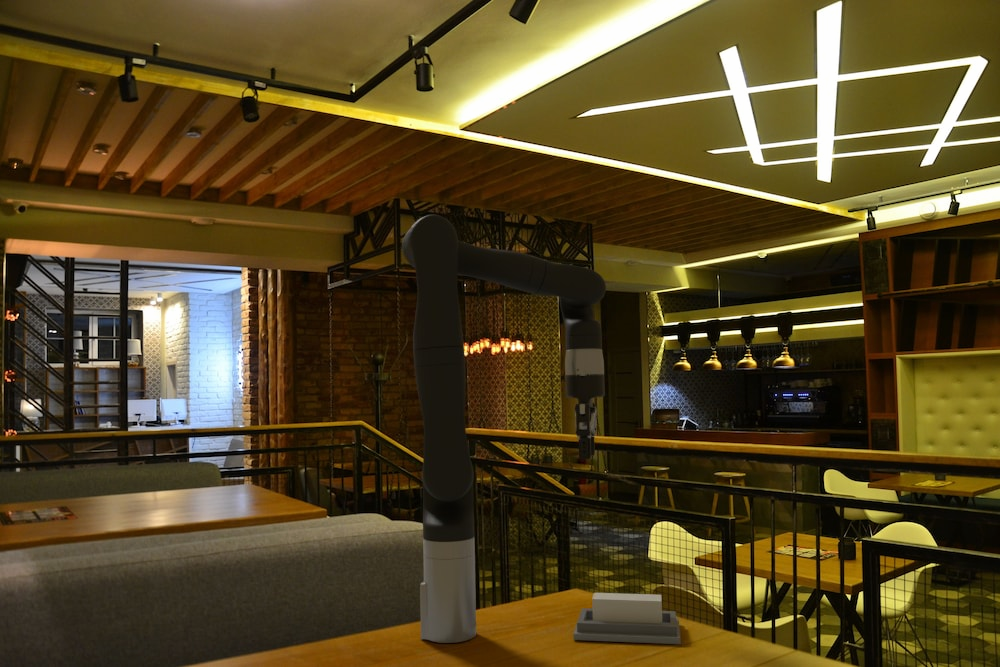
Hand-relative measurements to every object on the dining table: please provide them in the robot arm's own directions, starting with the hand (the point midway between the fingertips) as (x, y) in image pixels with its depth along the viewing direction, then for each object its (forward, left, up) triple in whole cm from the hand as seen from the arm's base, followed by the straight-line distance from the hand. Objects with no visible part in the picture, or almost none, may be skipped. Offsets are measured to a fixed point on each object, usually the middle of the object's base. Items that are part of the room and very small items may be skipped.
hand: (587, 457), depth 149 cm
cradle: (+7, -8, -30) cm, 32 cm away
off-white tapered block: (+7, -8, -29) cm, 31 cm away
